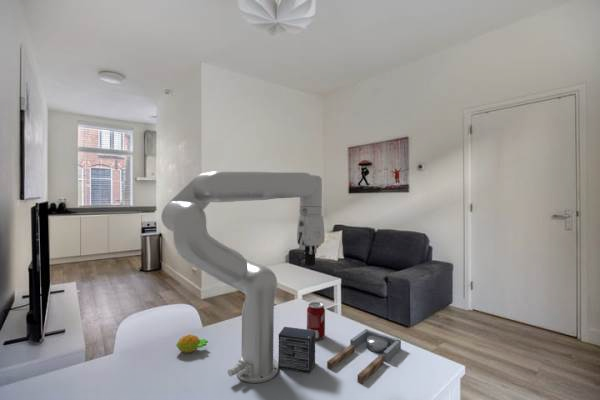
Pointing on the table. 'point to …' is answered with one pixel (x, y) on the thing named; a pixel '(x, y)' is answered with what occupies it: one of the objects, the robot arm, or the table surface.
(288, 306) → the table surface
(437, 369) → the table surface
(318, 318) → the soda can
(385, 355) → the grey u-shaped frame
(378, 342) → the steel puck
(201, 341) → the toy pineapple
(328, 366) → the walnut slot
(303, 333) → the small box
